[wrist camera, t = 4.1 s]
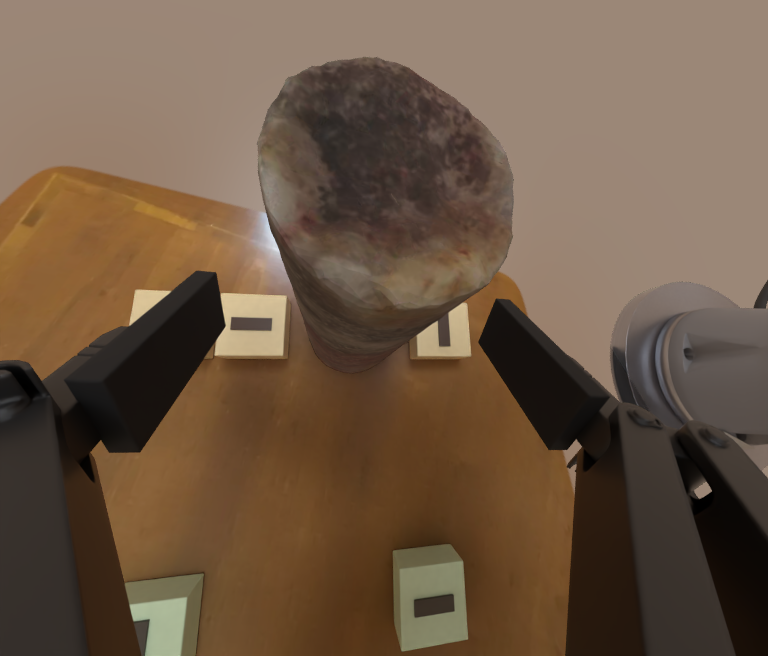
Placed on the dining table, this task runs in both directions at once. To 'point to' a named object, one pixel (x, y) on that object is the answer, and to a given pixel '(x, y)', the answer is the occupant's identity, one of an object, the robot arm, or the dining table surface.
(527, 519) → the dining table surface
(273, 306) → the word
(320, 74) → the brown rough cylinder
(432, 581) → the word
